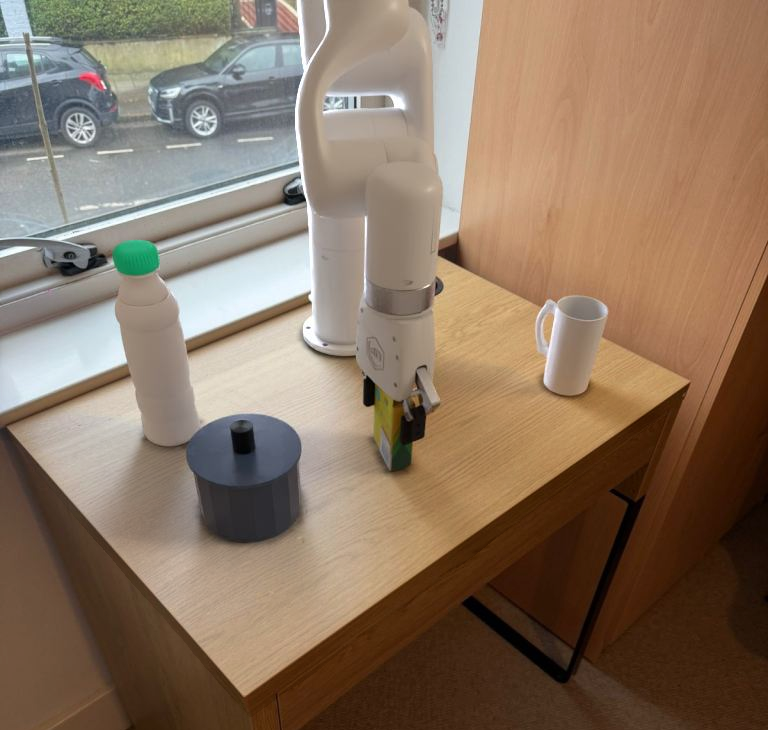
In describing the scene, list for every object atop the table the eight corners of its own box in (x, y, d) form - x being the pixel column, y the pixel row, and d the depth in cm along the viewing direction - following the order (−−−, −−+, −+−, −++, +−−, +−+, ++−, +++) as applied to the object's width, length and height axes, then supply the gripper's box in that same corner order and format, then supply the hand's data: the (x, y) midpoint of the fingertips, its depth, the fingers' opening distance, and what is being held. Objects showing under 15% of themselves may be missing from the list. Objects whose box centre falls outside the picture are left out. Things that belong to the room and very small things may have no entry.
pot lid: (164, 454, 83) (157, 425, 80) (253, 407, 90) (249, 378, 87) (235, 511, 77) (231, 481, 74) (325, 456, 84) (324, 426, 81)
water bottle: (210, 422, 100) (180, 238, 83) (183, 454, 95) (145, 266, 78) (163, 410, 102) (123, 227, 84) (134, 441, 97) (85, 254, 80)
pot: (182, 507, 89) (170, 450, 83) (258, 462, 95) (252, 407, 89) (244, 558, 83) (235, 502, 77) (320, 507, 89) (318, 451, 83)
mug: (598, 385, 109) (618, 309, 101) (569, 403, 106) (588, 326, 97) (543, 355, 114) (558, 281, 106) (514, 372, 111) (527, 296, 102)
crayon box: (411, 468, 94) (417, 391, 86) (389, 472, 94) (392, 395, 85) (394, 432, 99) (398, 356, 91) (372, 436, 99) (374, 359, 90)
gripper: (328, 263, 84) (331, 393, 97) (414, 337, 74) (405, 472, 86) (386, 248, 87) (382, 376, 100) (476, 318, 77) (459, 451, 89)
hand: (393, 420), depth 93 cm, fingers closed on crayon box, 7 cm apart
